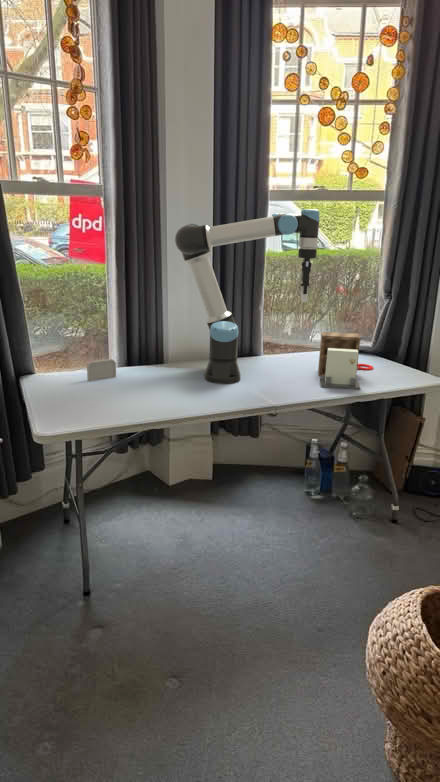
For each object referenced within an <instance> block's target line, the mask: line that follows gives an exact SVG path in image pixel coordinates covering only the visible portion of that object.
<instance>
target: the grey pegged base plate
mask: <svg viewBox="0 0 440 782" xmlns="http://www.w3.org/2000/svg"><path fill="white" fill-rule="evenodd" d="M325 373H326V372H325ZM319 386H320V388H326V389H327V388H328V389H343V390H357V391H361V389H362V388H361V386H360V382H359V380H357V378H351V381H350V385H347V384H331V377H326V383H325V377H319Z"/></svg>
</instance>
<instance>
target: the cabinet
mask: <svg viewBox="0 0 440 782" xmlns="http://www.w3.org/2000/svg"><path fill="white" fill-rule="evenodd" d="M360 344H361V336H360V334H359V333H354V332H353V333H352V332H333V331H331V332H330V331H321V334H320V346H319V347H320V348H319V357H318V366H317V367H318V369H317V372H318V376H320V377H325V372H326V362H327V352H328V348H336V349H353V350H358V356H360V355H359V354H360V348H359V346H360V347H361V345H360ZM357 364H359V359H358V360H357ZM357 373H358V371H357V369H356V374H357Z"/></svg>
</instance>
